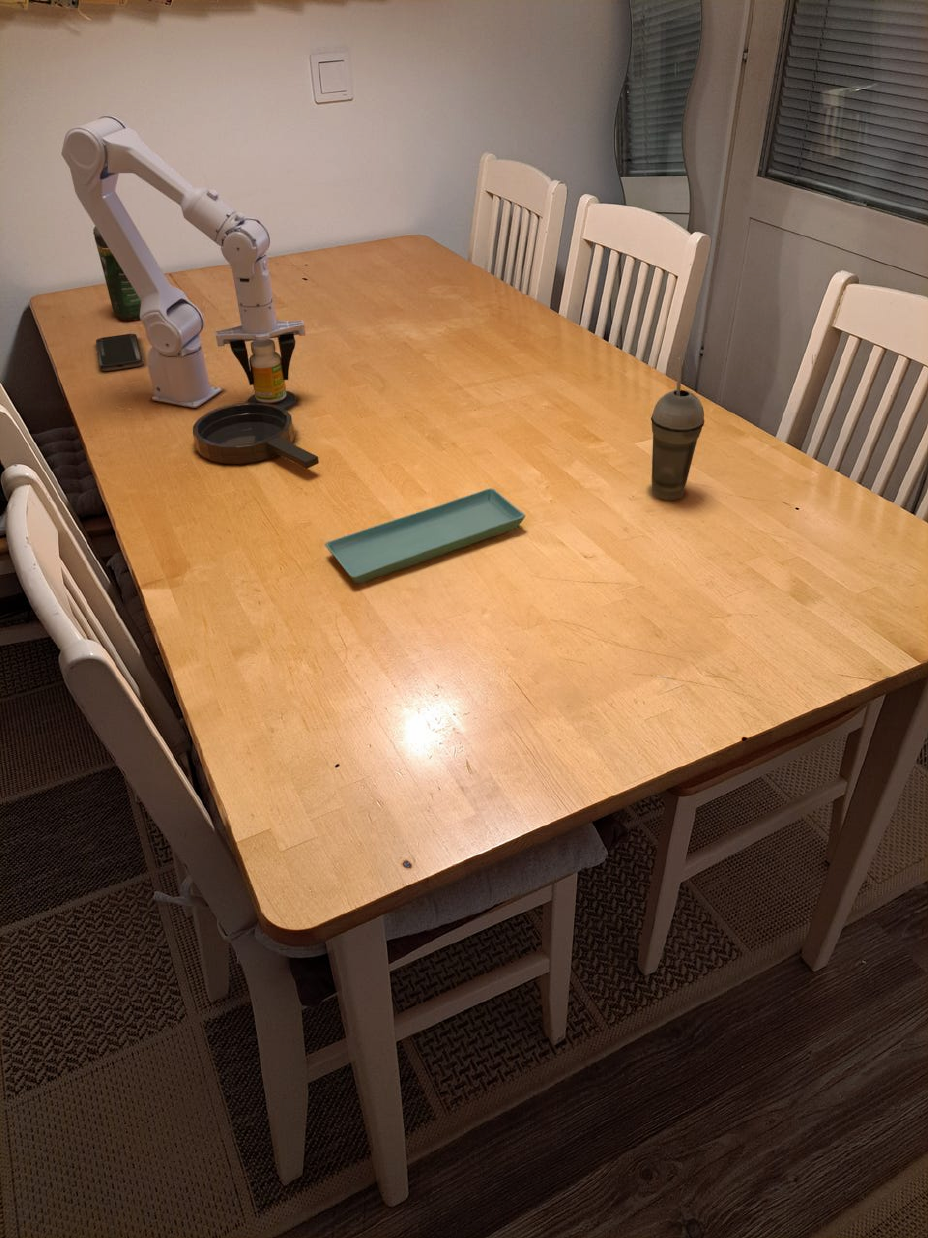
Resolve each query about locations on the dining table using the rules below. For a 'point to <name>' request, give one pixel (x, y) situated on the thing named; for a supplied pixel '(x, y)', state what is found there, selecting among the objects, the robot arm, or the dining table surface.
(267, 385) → the supplement bottle
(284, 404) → the coaster
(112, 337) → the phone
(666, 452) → the beverage cup
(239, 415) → the pan
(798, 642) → the dining table surface
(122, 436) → the dining table surface
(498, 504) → the teal serving tray
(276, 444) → the pan handle
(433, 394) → the dining table surface
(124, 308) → the coffee jar
